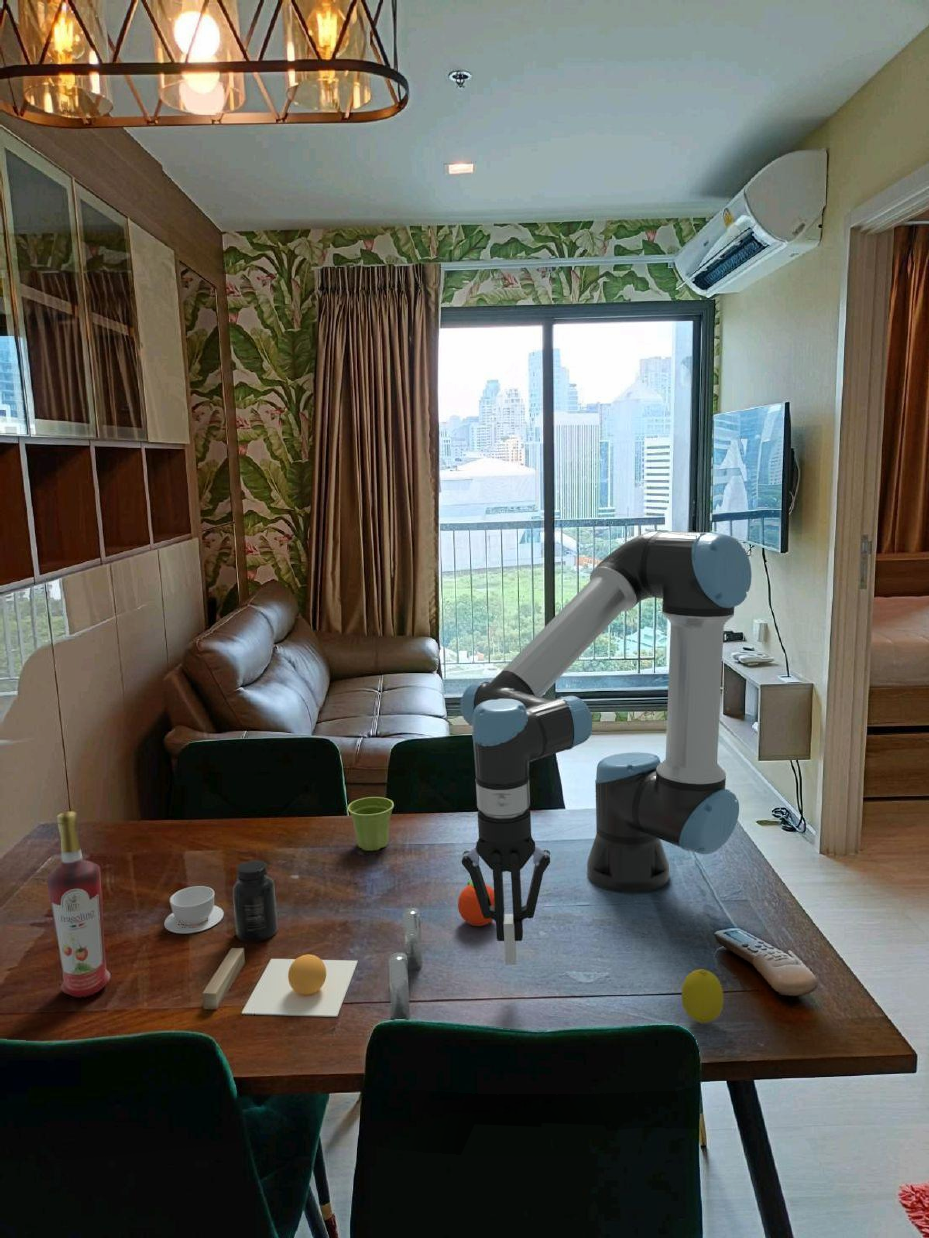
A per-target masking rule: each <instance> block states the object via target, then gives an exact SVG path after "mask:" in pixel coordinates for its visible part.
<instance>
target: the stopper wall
mask: <svg viewBox="0 0 929 1238" xmlns="http://www.w3.org/2000/svg"><path fill="white" fill-rule="evenodd" d="M245 964H246V960H245V948H244V947H238V948H235V947H232V948H230V950H229V951H228V953H227V954H226V955H225V957H224V959H223V960H222V962H221V964H220V965H219V967H218V969H217V970H216V972H215V973H214V974H213V976H212V978H211V979H210V981H209V982H208V984H207V986H206V987H205V989H204V990H203V992H202V1001H203V1002H202V1003H203V1009H204V1010H205V1009H206V1010H217V1009H219V1007H220V1005H221V1004H222V1002H223V1001H224V999H225V996H226V995H227V994H228V992H229V990H230V988H232V985H233V984H234V982H235V981H236V979H237V977H238V975H239V973H240V972H241V970H242V968H243V967H244V966H245ZM220 1003H221V1004H220Z"/></svg>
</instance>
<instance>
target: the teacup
mask: <svg viewBox="0 0 929 1238" xmlns="http://www.w3.org/2000/svg"><path fill="white" fill-rule="evenodd" d="M169 904H170V907H171V911H172V913H170V914H169V915H168V916H167V917H166V918H165V919H164V923H163V925H164V928H165V929H166V930H167V931H169V932H172V933H175V934H194V933H198V932H203V931H205V930H208V929H210V928H213V927H214V926H215V925H217V924H219V923H220V922H221V921H222V919H223V917H224V914H225V913H224V910H223V909H222V908H221V907H220V906H217V905H215V890H214V889H213V888H211V887H210V886H203V885H198V886H197V885H194V886H190V887H185V888H183V889H180V890H178V891H176V892H175V893H173V894H172V895H171V896H170V898H169ZM207 918H208V919H207ZM206 920H208V921H206ZM179 921H180V922H179ZM204 921H206V922H204ZM203 922H204V923H203ZM178 924H180V925H178ZM181 924H184V926H183V925H181ZM197 924H203V925H200V926H192V925H197ZM185 925H187V926H185ZM189 926H190V927H191V928H189ZM182 927H183V928H182ZM184 927H185V928H184ZM192 927H195V928H192ZM196 927H197V928H196Z"/></svg>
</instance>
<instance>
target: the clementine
mask: <svg viewBox="0 0 929 1238" xmlns="http://www.w3.org/2000/svg"><path fill="white" fill-rule="evenodd" d="M485 885H486V889H487V892H488V895H489V898H490V901H491V904H492V906H495V901H494V888H492V887H491V886H489V885H488V884H485ZM457 907H458V912H459V914H460V916H461V918H462V919H463V920H464V921H465V923H467V924H469V925H472V926H474V927H475V926H476V927H482V926H485V925H487V924H490V923H491V922H492V921H494V920H493V919H491V918H489V919H486V918H484V917H483V915H482V911H481V908H480V905H479V902H478V899H477V896H476V893H475V889H474V886H473V883H472V880H471V881H468V882H467V886H466V887H465V888H464V889H462V891H461V893H460V894H459V896H458V901H457Z"/></svg>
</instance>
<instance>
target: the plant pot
mask: <svg viewBox="0 0 929 1238" xmlns="http://www.w3.org/2000/svg"><path fill="white" fill-rule="evenodd" d="M394 807H395V804H394V801H393V800H392V799H389V798H387V797H386V798H385V797H381V796H369V797H362V798H359V799H356V800H353V801H351V803H349V804H348V806H347V811H348V813H350V817H351V818H352V822H353V827H354V832H355V837H356V841H357V846H358V848H361V849H362V850H363V851H368V852H369V851H372V852H373V851H374V850H375V851H378V850H380V849H381V848H385V847H387V846H388V843H389V831H390V822H391V814H392V812H393V809H394Z"/></svg>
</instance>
